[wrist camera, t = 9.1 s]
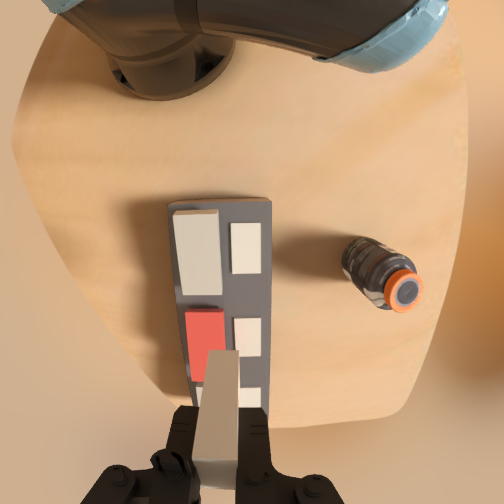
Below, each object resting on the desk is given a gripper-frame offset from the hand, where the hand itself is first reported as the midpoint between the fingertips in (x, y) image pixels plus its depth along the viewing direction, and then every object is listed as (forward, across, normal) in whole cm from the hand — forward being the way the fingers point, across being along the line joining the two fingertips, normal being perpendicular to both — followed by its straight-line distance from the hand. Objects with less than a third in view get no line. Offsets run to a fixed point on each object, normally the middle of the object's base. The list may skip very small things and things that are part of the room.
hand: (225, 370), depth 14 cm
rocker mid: (+13, -3, -8) cm, 15 cm away
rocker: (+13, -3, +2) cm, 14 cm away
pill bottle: (+20, +16, 0) cm, 26 cm away
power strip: (+20, -1, -8) cm, 21 cm away
